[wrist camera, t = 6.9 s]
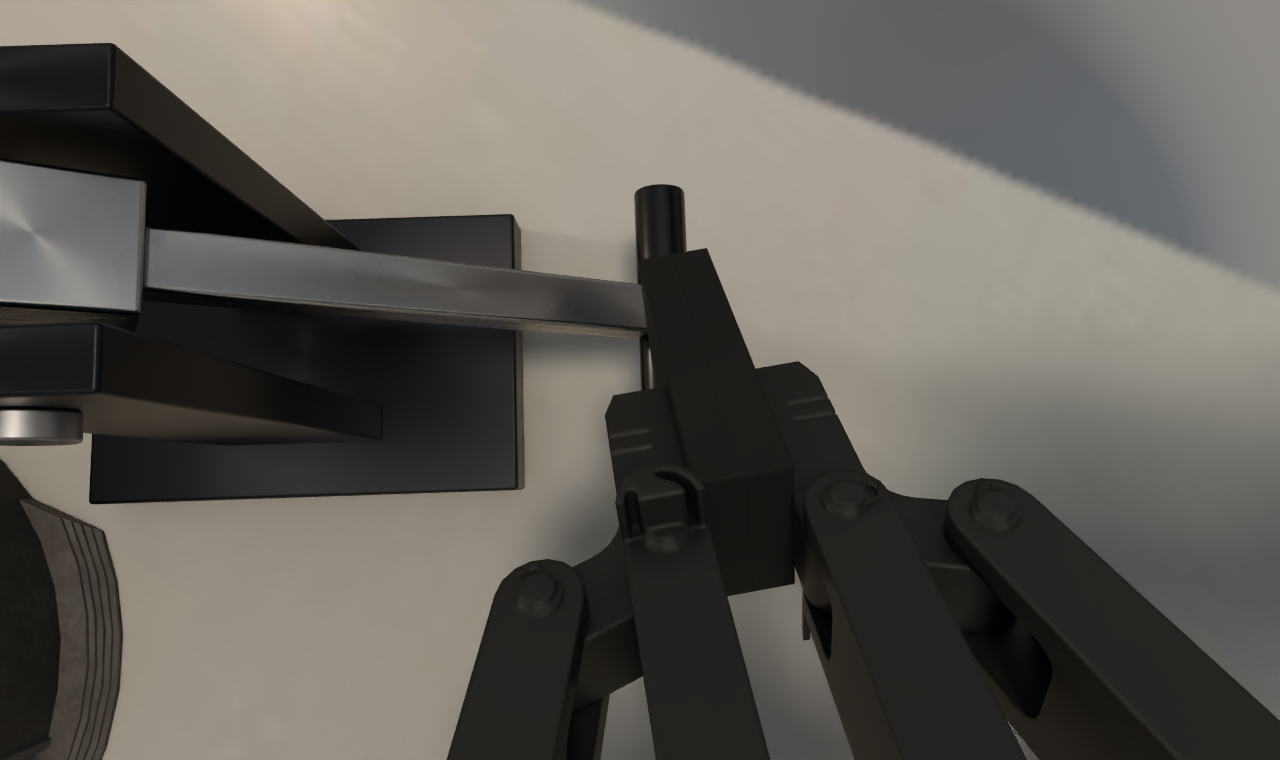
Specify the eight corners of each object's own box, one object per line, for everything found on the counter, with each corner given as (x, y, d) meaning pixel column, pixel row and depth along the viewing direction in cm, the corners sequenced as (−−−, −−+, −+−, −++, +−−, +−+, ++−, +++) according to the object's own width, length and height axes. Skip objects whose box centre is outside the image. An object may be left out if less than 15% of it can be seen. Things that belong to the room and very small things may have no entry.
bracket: (520, 227, 26) (384, -66, 12) (524, 489, 25) (382, 497, 11) (129, 240, 26) (-461, -41, 12) (118, 503, 25) (-539, 529, 11)
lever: (652, 210, 21) (709, 180, 19) (660, 444, 21) (721, 438, 19) (-52, 85, 14) (-77, 15, 12) (-77, 448, 13) (-110, 438, 11)
